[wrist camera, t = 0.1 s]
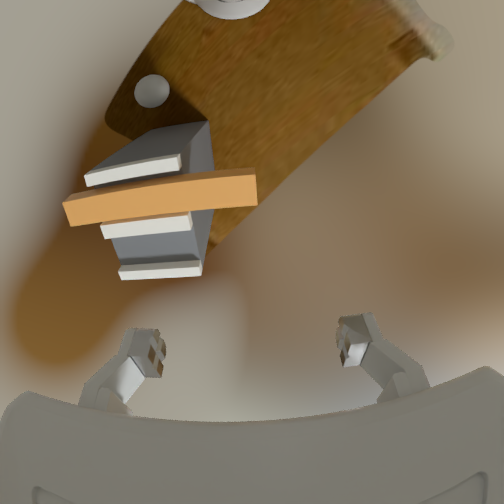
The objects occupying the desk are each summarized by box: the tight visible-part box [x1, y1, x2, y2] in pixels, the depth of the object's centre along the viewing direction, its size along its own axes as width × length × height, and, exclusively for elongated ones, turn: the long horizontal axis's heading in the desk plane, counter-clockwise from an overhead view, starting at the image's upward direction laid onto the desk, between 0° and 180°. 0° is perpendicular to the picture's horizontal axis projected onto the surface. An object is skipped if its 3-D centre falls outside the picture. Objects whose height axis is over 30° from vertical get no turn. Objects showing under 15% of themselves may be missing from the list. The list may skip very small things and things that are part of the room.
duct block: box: [84, 120, 215, 280], centre depth 43 cm, size 16×12×28 cm
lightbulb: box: [134, 75, 169, 108], centre depth 41 cm, size 6×6×11 cm
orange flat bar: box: [63, 167, 257, 226], centre depth 30 cm, size 4×24×2 cm, turn 94°
